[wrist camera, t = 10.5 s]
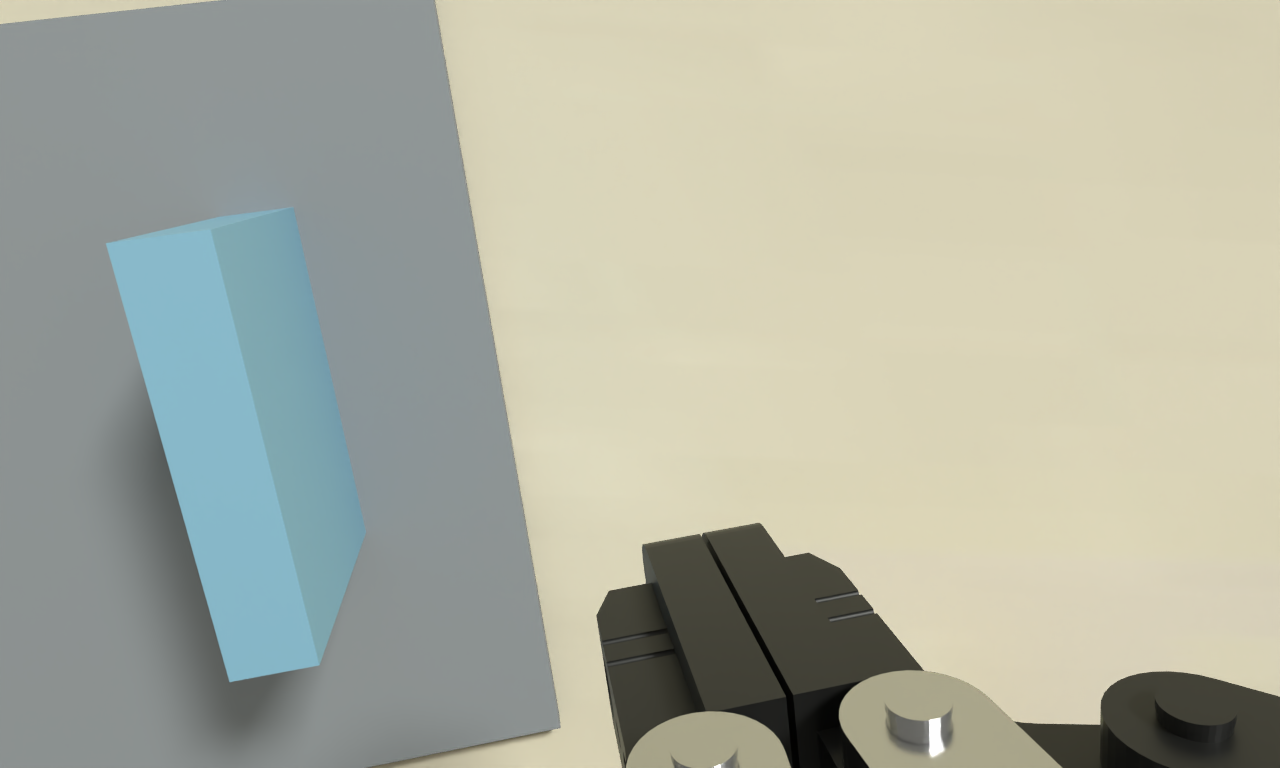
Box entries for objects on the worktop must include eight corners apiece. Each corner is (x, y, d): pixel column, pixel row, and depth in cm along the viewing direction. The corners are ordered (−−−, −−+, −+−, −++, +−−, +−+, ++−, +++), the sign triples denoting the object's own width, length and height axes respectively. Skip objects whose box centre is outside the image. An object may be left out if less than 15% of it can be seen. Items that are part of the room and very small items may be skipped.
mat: (431, -18, 20) (429, -23, 19) (559, 714, 25) (560, 727, 24) (-311, 63, 18) (-338, 60, 18) (-12, 830, 23) (-25, 847, 23)
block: (293, 206, 20) (210, 228, 14) (366, 532, 22) (319, 664, 16) (219, 216, 20) (106, 243, 14) (299, 543, 22) (229, 681, 16)
